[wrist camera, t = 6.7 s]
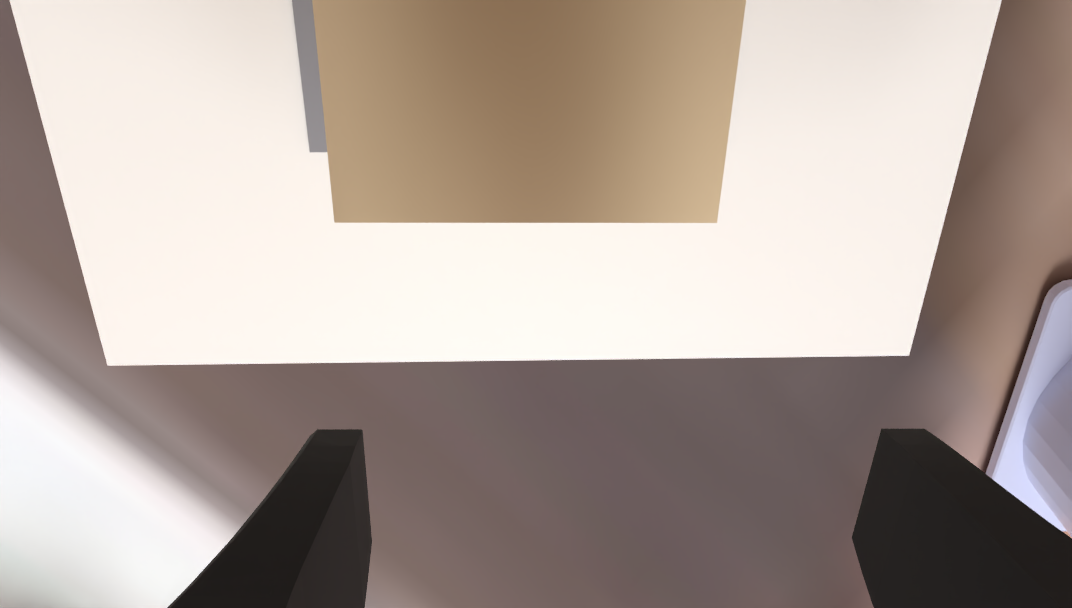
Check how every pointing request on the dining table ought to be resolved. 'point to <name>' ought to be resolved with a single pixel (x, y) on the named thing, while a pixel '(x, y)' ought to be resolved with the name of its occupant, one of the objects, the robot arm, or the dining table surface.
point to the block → (527, 109)
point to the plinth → (495, 248)
